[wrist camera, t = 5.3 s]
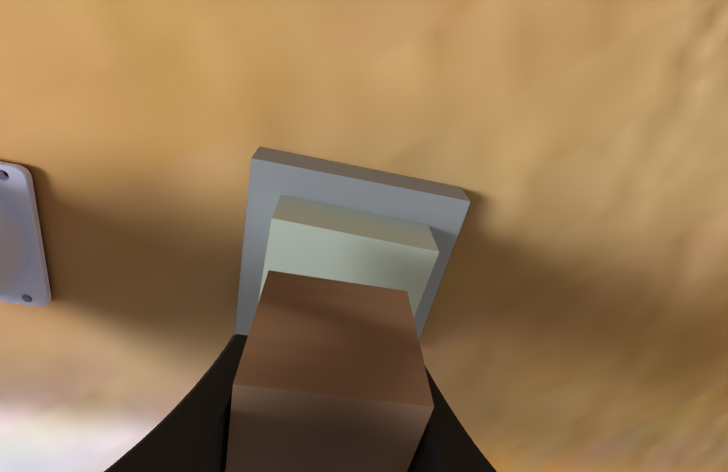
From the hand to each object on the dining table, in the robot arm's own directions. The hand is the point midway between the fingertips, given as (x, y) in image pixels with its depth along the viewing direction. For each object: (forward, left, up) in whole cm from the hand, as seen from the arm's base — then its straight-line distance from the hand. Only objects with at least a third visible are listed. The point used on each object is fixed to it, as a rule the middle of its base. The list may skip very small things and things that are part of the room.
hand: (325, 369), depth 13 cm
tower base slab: (+1, -1, -10) cm, 10 cm away
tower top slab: (+1, -1, -8) cm, 8 cm away
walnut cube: (0, 0, -2) cm, 2 cm away
